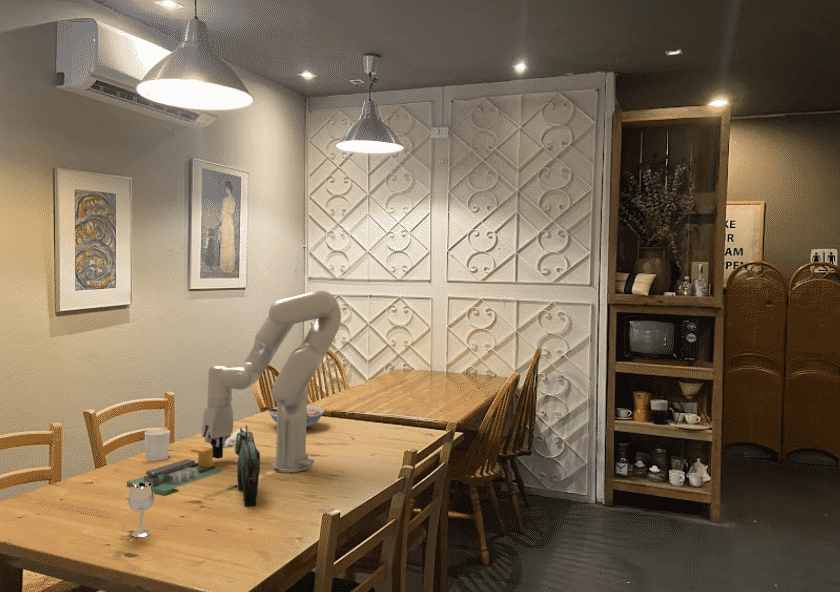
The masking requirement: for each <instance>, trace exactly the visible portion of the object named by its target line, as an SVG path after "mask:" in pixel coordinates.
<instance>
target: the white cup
mask: <svg viewBox="0 0 840 592" xmlns="http://www.w3.org/2000/svg"><path fill="white" fill-rule="evenodd" d="M170 434H171V430H169V429H164V428H160V429H157V428H156V429H151V430H147V431H144V448H145V450H144V451H145V463H148V462H151V461H153V462H156V461H157V462H159V461H164V460H166V459H168V457H169V452H170V439H171V437H170V436H171V435H170Z"/></svg>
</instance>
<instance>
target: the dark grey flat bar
mask: <svg viewBox="0 0 840 592" xmlns="http://www.w3.org/2000/svg"><path fill="white" fill-rule="evenodd" d="M195 463H196V460H194V459H187V458H186V459H184V460H180V461H176V462H172V463H168V464H169V465H166V464H165V465H164V466H162V467H159V466H158V467H159V468H158V467H157V468H152V469H153V470H150V469H149V470H147V471H146V472H145V476H146V475H151V476H155V477H156V476H159V475H162V474H165V473H168V472H171V471H174V470H178V469H181V468H184V467H187V466H190V465H193V464H195Z"/></svg>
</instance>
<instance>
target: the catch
mask: <svg viewBox="0 0 840 592" xmlns="http://www.w3.org/2000/svg"><path fill="white" fill-rule="evenodd" d="M190 450H191V451H190V452H191V453H196V454H198V457H197V459H198V460H197V462H198V466H203V467H210V466H213V462H214V461H213V448H212V447H208V446H207V447H206V446H197V447H194V448H191V449H190Z"/></svg>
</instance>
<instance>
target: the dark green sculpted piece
mask: <svg viewBox="0 0 840 592" xmlns="http://www.w3.org/2000/svg"><path fill="white" fill-rule="evenodd" d="M239 428H240V433H237V437H236V444H234V445H235V447H234V452H235V454H236V455H237V456H238V457H237V458H238V459H237V465H236V466H237V468H236V470H237V471H236V478H237V480H236V481H237V490H238V491H242V496H243V506H244V507H246V508H251V507H256V506H257V497H258V488H259V487H258V486H259V478H260V472H261V454H260V450H258V449H257V446H256V444H255V439H254V435H253V432H252V431H249V432H247V429H248V425H246V424H245V428H244V429H246V432H244V431H243V430H242V427H241V426H240V427H239Z"/></svg>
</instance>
